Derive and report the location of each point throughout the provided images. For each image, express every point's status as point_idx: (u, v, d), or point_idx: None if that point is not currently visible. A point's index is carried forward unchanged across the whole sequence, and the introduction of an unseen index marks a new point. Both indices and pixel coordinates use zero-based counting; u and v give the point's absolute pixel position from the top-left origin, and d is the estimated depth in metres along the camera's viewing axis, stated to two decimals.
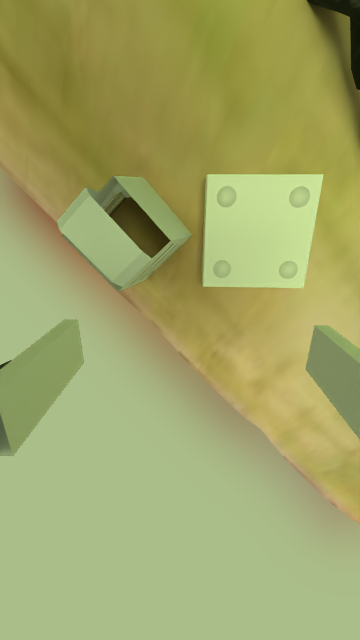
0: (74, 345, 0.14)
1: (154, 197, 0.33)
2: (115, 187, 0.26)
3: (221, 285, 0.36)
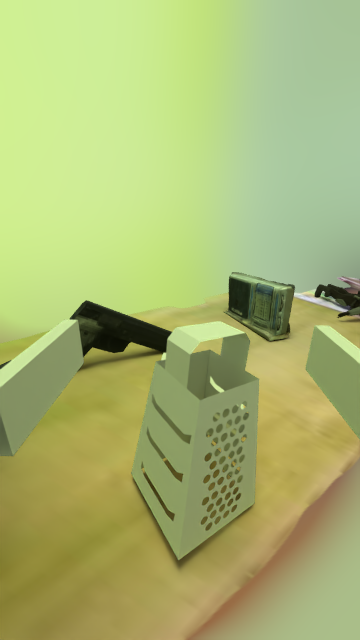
0: (74, 345, 0.14)
1: None
2: None
3: None
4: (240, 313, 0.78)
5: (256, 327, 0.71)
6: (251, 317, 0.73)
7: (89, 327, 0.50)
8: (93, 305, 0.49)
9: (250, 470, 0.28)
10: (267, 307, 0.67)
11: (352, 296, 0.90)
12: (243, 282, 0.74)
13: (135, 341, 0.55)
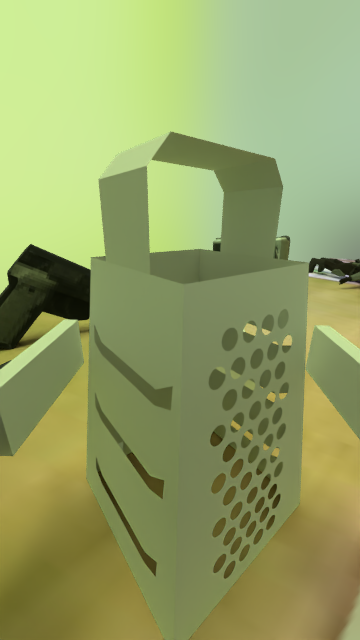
0: (74, 345, 0.14)
1: None
2: (101, 334, 0.13)
3: None
4: None
5: None
6: None
7: (36, 282, 0.36)
8: (39, 249, 0.36)
9: (294, 450, 0.15)
10: None
11: (350, 264, 0.82)
12: None
13: None
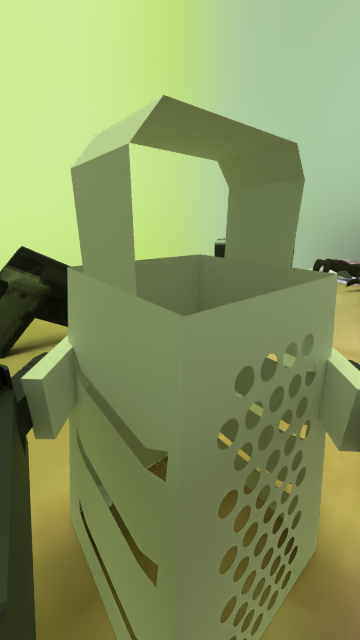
0: None
1: (120, 434, 0.16)
2: (81, 361, 0.11)
3: None
4: None
5: None
6: None
7: (28, 287, 0.34)
8: (31, 252, 0.33)
9: (313, 493, 0.13)
10: None
11: (357, 265, 0.79)
12: None
13: None
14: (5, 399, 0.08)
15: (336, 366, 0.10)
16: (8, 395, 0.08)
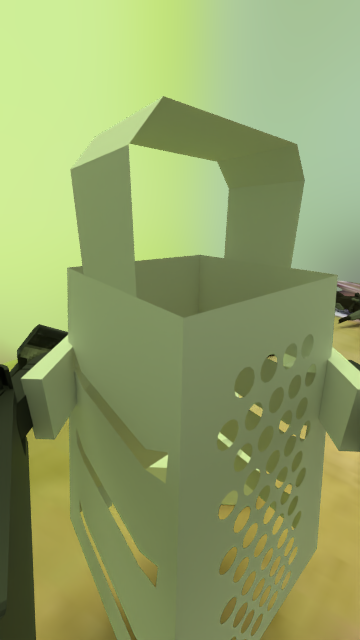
0: None
1: (120, 435, 0.16)
2: (81, 362, 0.11)
3: None
4: None
5: None
6: None
7: None
8: (47, 330, 0.37)
9: (313, 494, 0.13)
10: None
11: (349, 299, 0.83)
12: None
13: None
14: (5, 399, 0.08)
15: (336, 366, 0.10)
16: (8, 395, 0.08)
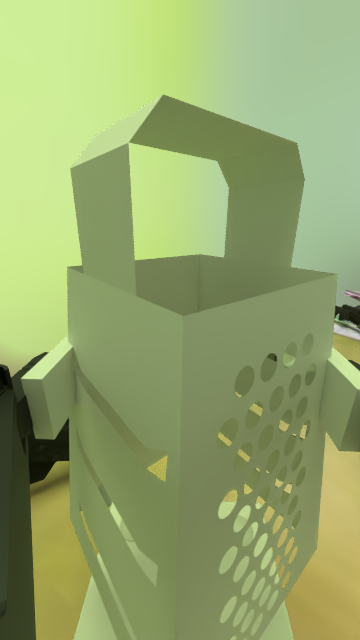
0: None
1: (120, 434, 0.16)
2: (81, 361, 0.11)
3: None
4: None
5: None
6: None
7: None
8: None
9: (313, 493, 0.13)
10: None
11: None
12: None
13: (67, 458, 0.29)
14: (5, 399, 0.08)
15: (336, 366, 0.10)
16: (8, 395, 0.08)
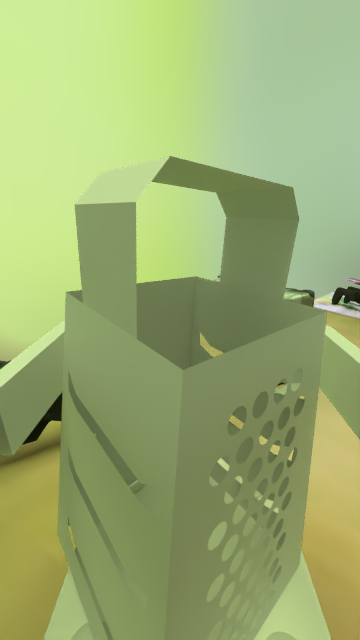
0: None
1: (111, 450, 0.16)
2: None
3: None
4: None
5: None
6: None
7: None
8: None
9: (298, 515, 0.13)
10: None
11: None
12: None
13: (61, 417, 0.27)
14: None
15: None
16: None
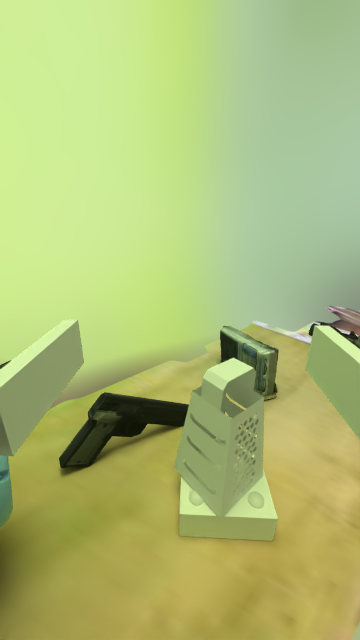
0: (74, 345, 0.14)
1: None
2: (193, 416, 0.39)
3: (271, 500, 0.39)
4: None
5: None
6: None
7: (108, 419, 0.49)
8: (112, 397, 0.48)
9: (260, 455, 0.41)
10: None
11: None
12: (231, 339, 0.76)
13: (152, 422, 0.55)
14: None
15: None
16: None
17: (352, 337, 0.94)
